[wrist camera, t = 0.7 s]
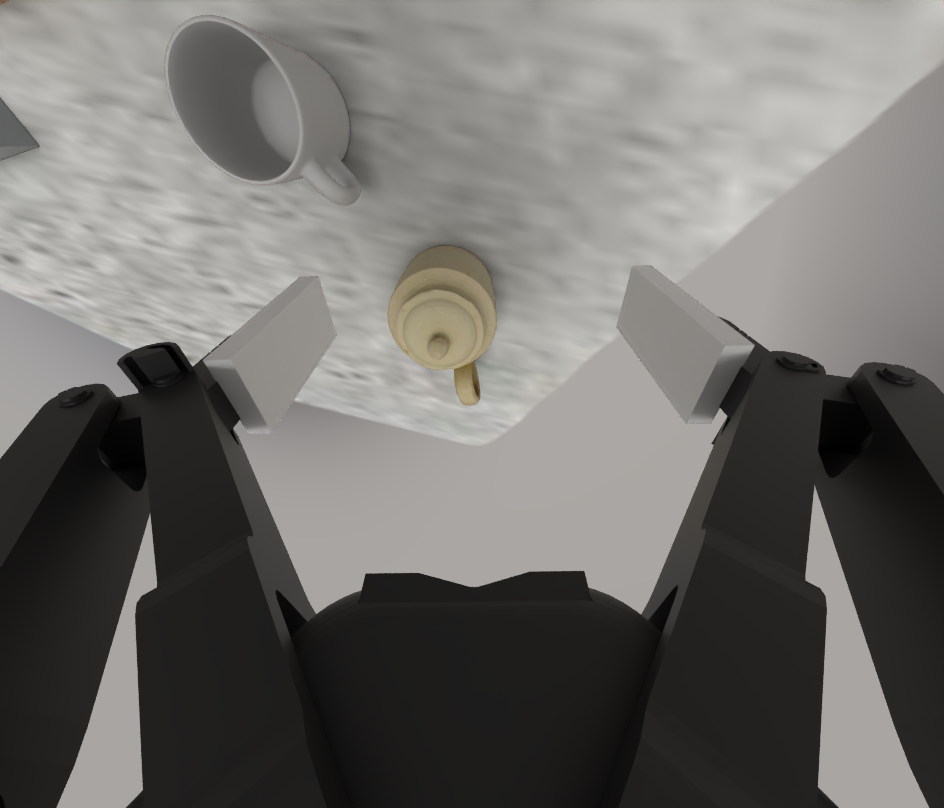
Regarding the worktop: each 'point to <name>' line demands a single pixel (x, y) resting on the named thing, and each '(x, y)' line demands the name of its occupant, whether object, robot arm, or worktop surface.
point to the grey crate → (13, 134)
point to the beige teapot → (445, 314)
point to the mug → (259, 107)
